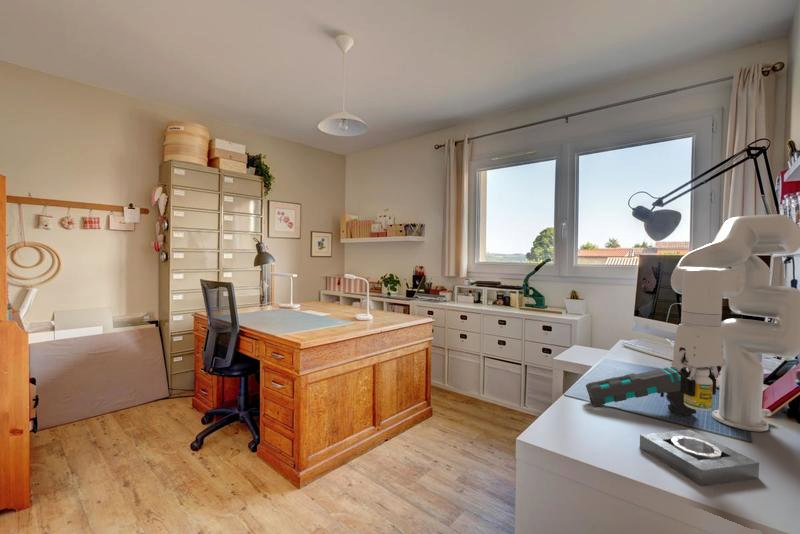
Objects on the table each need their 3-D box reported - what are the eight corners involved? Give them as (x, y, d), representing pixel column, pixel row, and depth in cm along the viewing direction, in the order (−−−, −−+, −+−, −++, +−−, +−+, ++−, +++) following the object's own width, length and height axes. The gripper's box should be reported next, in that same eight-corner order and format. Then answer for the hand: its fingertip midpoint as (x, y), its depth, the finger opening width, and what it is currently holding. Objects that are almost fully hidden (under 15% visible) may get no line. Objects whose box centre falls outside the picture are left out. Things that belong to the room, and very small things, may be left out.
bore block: (689, 442, 98) (690, 427, 98) (758, 477, 83) (759, 460, 82) (639, 447, 95) (640, 432, 95) (701, 485, 79) (702, 468, 79)
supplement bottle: (694, 401, 92) (696, 364, 91) (717, 410, 86) (719, 370, 86) (677, 403, 90) (679, 365, 90) (699, 412, 85) (701, 372, 85)
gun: (701, 413, 113) (685, 366, 114) (602, 432, 119) (588, 387, 120) (689, 405, 119) (674, 361, 120) (596, 423, 125) (582, 381, 126)
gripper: (713, 316, 93) (710, 385, 94) (657, 317, 90) (654, 390, 90) (746, 321, 86) (742, 397, 86) (686, 323, 82) (683, 402, 83)
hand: (697, 392), depth 88 cm, fingers closed on supplement bottle, 5 cm apart
